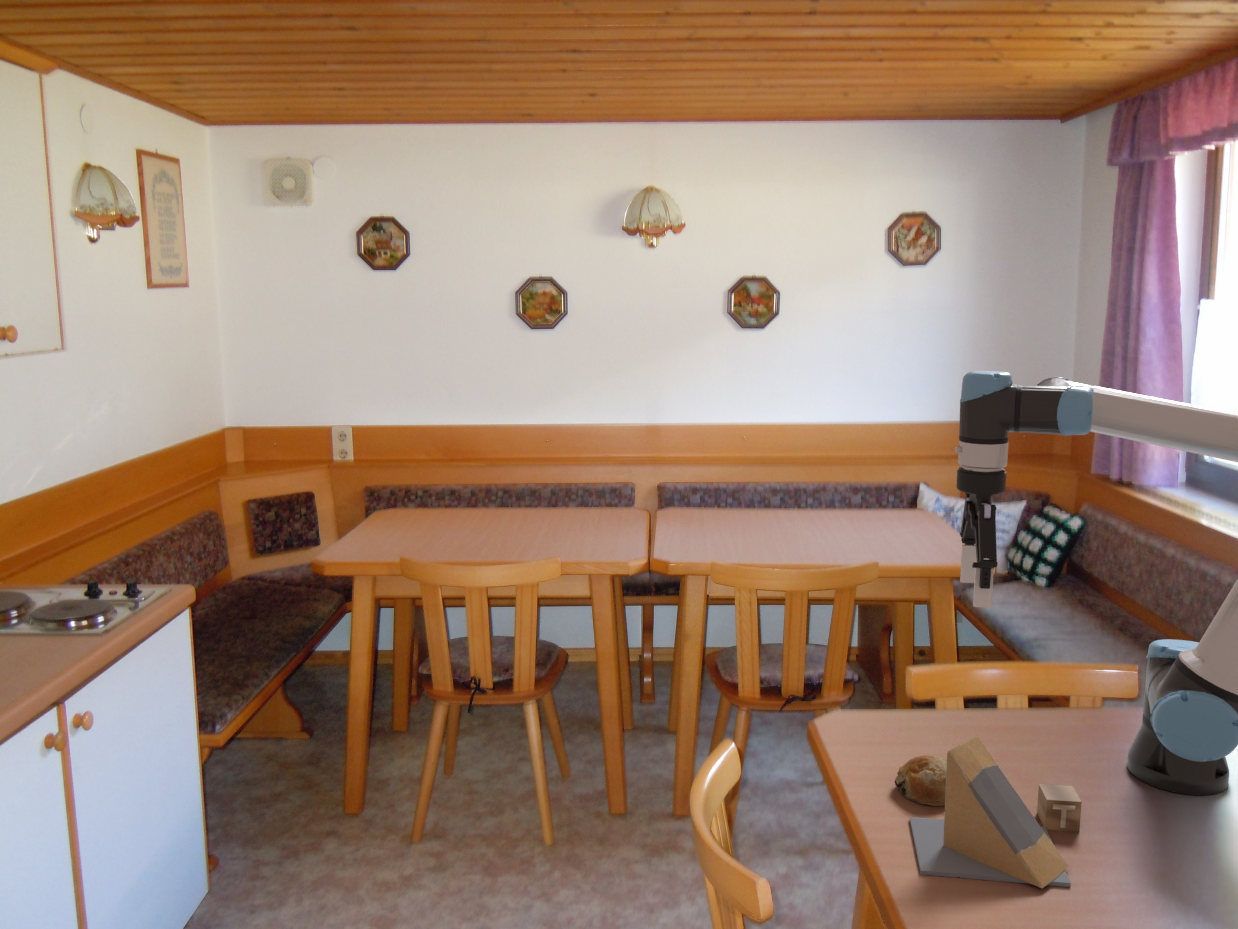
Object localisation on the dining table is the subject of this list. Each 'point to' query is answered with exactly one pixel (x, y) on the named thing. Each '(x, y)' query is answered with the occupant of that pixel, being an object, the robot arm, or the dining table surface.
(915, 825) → the grey rubber mat
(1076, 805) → the wooden letter cube
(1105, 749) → the dining table surface
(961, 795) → the sandwich container
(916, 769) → the bread roll
